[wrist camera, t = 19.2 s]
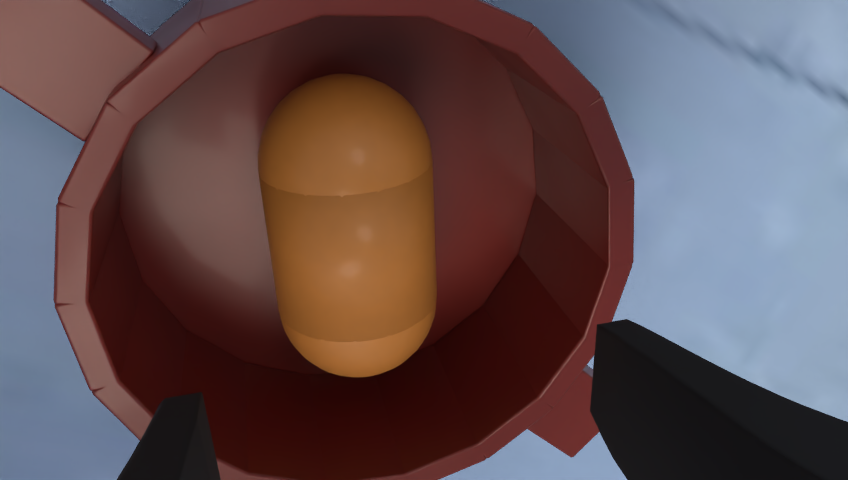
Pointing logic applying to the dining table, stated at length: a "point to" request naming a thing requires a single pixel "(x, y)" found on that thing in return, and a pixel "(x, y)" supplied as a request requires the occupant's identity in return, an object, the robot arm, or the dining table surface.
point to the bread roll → (350, 223)
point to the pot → (248, 241)
